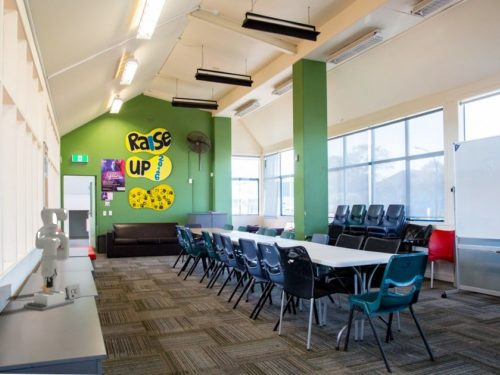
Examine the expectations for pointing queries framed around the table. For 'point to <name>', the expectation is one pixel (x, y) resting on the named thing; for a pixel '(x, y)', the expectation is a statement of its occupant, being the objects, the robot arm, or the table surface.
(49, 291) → the handle
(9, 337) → the table surface
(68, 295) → the electrical switch
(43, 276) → the robot arm
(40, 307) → the block
